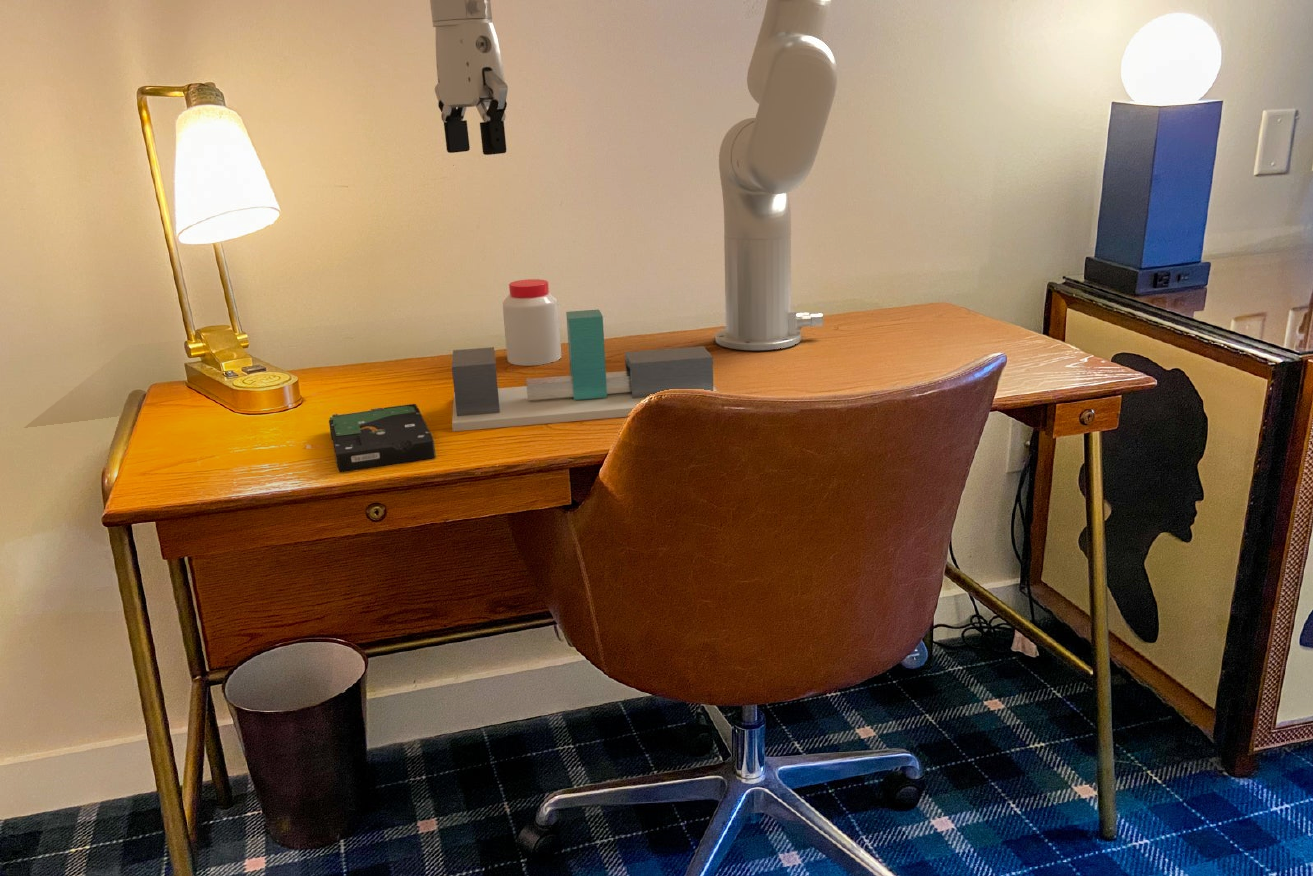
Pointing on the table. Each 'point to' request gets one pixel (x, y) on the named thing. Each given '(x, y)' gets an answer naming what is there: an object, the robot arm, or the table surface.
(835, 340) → the table surface
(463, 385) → the socket
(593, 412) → the base board
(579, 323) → the bolt
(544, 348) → the pill bottle
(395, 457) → the disk drive
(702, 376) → the sleeve
